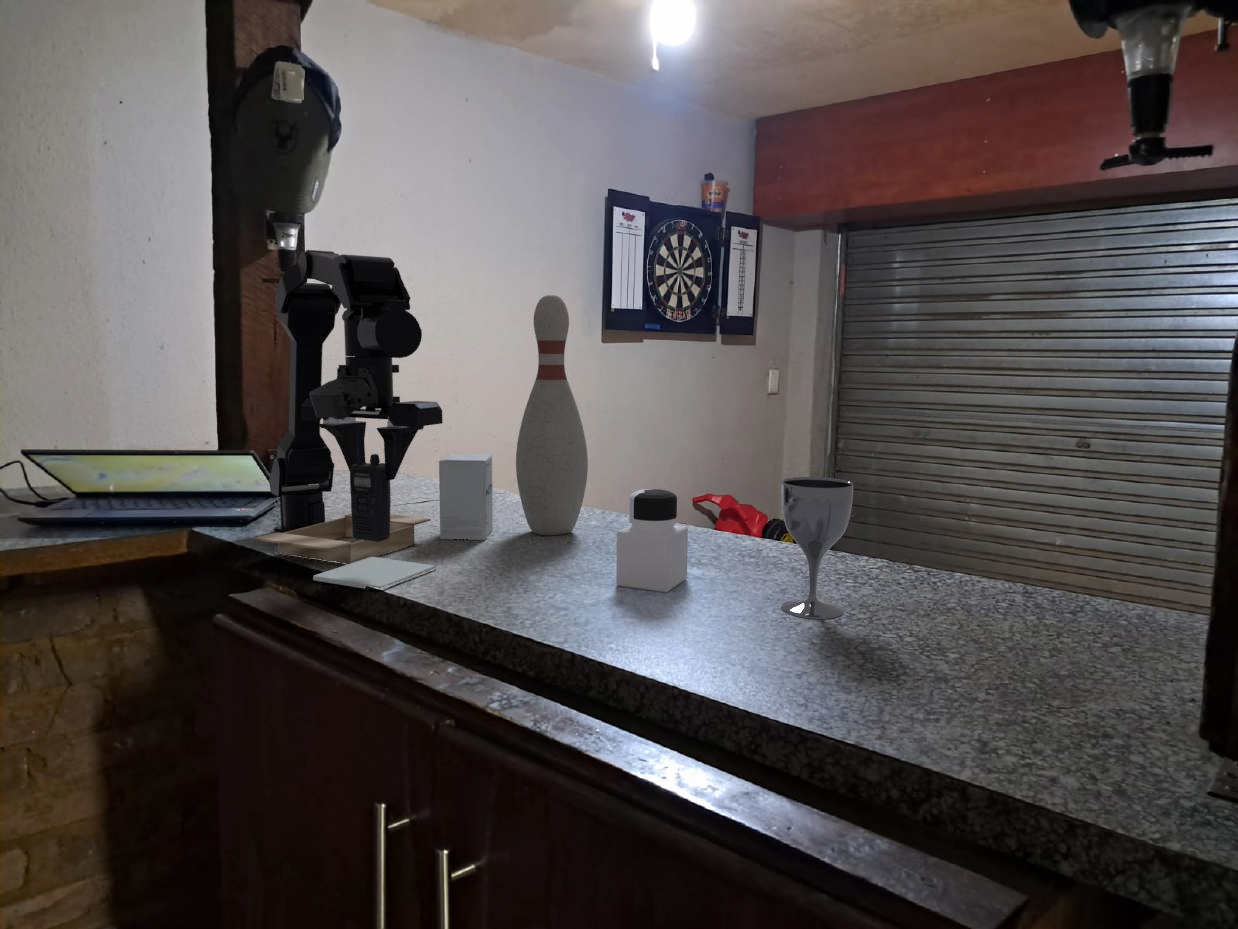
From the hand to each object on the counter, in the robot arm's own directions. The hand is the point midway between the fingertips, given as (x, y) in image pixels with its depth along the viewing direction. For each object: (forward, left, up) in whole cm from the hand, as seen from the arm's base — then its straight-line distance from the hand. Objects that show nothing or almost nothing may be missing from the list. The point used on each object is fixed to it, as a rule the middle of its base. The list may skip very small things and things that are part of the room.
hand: (372, 478), depth 109 cm
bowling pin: (+8, +33, -13) cm, 36 cm away
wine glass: (+55, +11, -13) cm, 58 cm away
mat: (0, 0, -13) cm, 13 cm away
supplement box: (-3, +25, -13) cm, 28 cm away
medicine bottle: (+34, +13, -13) cm, 39 cm away
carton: (-13, +9, -13) cm, 20 cm away
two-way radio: (0, 0, -8) cm, 8 cm away
